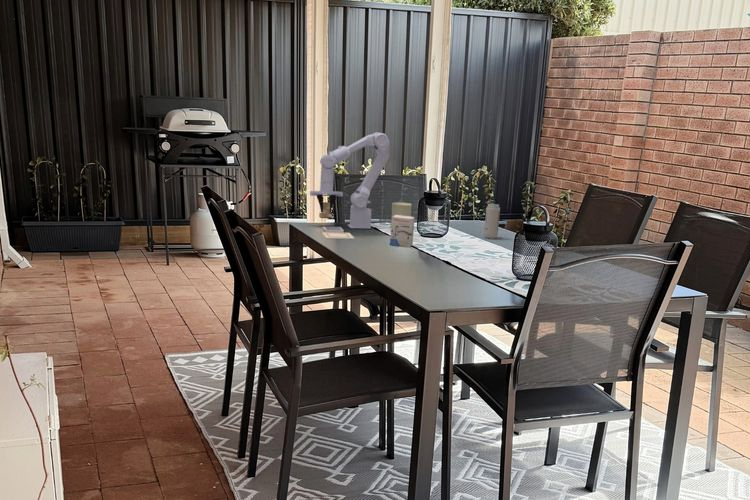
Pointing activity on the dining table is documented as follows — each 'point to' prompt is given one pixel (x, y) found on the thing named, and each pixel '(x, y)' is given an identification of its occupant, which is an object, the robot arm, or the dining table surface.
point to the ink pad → (333, 229)
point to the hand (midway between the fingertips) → (325, 211)
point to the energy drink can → (492, 221)
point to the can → (401, 209)
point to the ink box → (402, 231)
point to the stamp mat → (337, 235)
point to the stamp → (325, 211)
